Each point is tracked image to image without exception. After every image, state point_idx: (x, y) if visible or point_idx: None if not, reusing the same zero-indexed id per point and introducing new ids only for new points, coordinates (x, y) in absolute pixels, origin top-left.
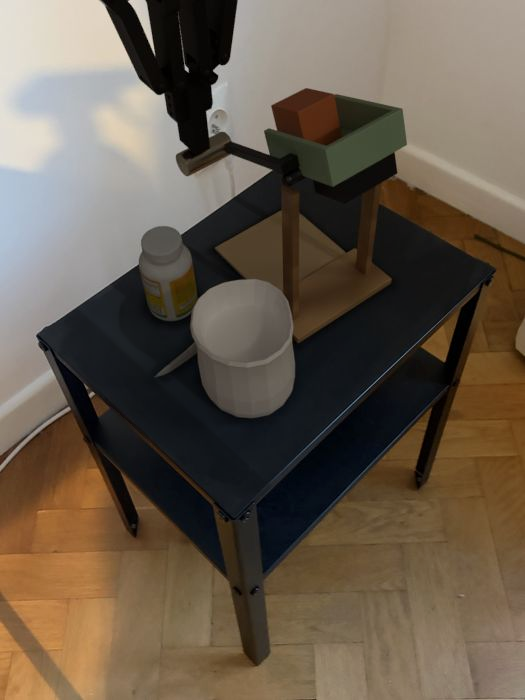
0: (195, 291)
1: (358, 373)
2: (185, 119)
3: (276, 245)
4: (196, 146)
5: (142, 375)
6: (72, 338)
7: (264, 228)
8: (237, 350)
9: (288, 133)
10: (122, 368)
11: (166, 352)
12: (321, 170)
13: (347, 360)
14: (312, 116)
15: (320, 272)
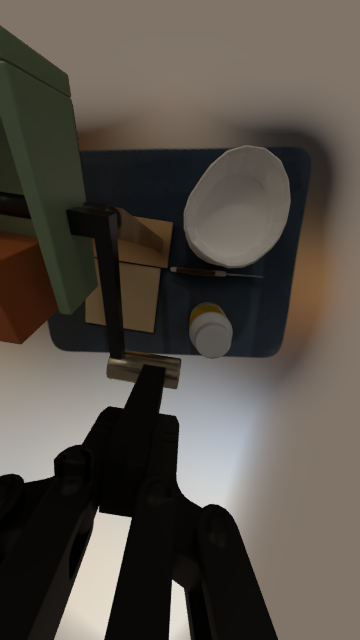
0: (197, 308)
1: (161, 164)
2: (161, 416)
3: None
4: (162, 375)
5: (264, 288)
6: (270, 344)
7: None
8: (247, 210)
9: (40, 289)
10: (268, 302)
11: (240, 290)
12: (56, 109)
13: (158, 181)
14: None
15: None
